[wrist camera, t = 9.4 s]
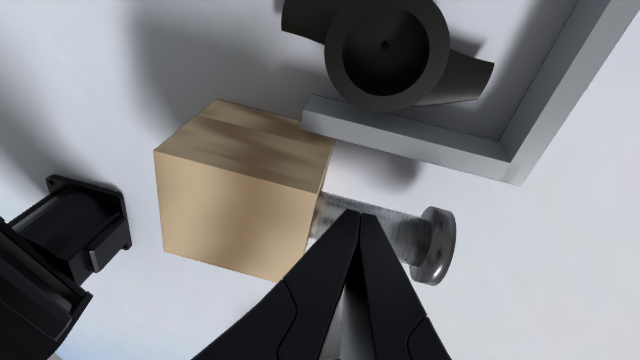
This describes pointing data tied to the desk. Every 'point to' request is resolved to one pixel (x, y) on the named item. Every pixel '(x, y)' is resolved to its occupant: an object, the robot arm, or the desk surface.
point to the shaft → (400, 234)
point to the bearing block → (240, 189)
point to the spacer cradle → (524, 127)
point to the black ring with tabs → (388, 52)
